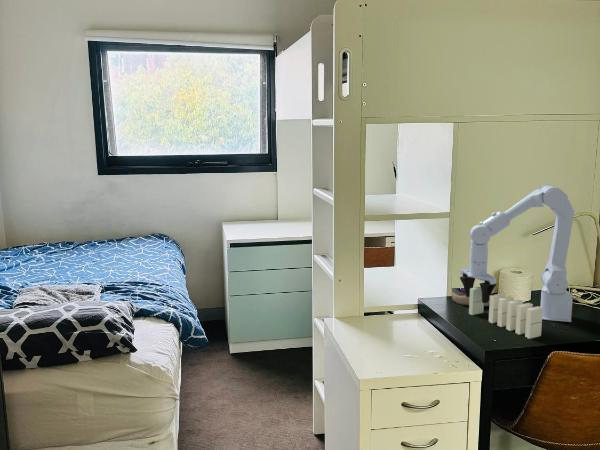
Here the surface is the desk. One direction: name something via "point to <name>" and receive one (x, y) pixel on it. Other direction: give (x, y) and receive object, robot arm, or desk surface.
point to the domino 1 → (475, 301)
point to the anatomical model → (461, 297)
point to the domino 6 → (533, 322)
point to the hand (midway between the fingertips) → (477, 299)
